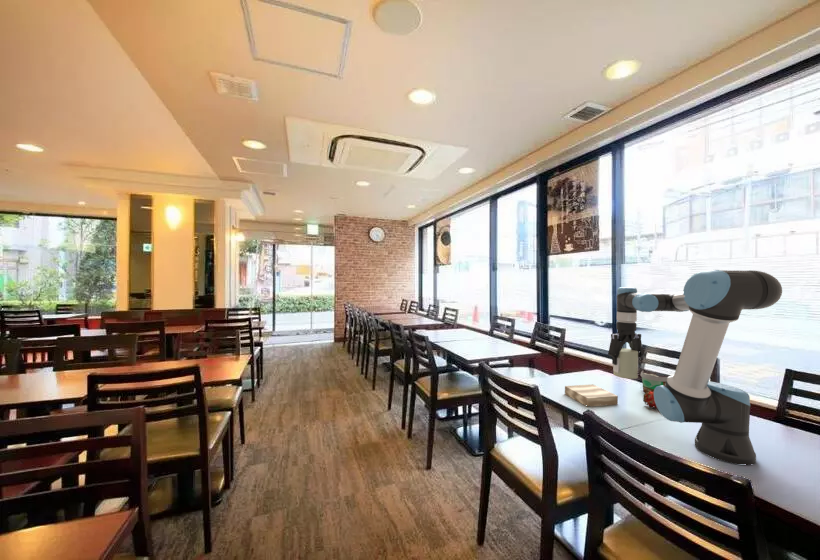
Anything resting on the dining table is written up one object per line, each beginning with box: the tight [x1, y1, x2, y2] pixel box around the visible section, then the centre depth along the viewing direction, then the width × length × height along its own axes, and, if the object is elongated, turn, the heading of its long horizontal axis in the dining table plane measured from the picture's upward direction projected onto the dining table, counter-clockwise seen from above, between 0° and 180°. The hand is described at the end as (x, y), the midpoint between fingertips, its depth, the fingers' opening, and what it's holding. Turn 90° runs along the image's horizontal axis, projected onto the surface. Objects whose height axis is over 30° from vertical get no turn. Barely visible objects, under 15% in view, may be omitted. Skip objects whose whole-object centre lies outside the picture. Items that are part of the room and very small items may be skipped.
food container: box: [640, 370, 669, 393], centre depth 166 cm, size 12×6×10 cm, turn 25°
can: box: [613, 347, 639, 380], centre depth 147 cm, size 9×9×12 cm
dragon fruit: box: [642, 391, 658, 410], centre depth 149 cm, size 8×8×12 cm
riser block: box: [564, 384, 619, 407], centre depth 159 cm, size 16×16×4 cm
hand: (625, 371), depth 147 cm, fingers closed on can, 9 cm apart
